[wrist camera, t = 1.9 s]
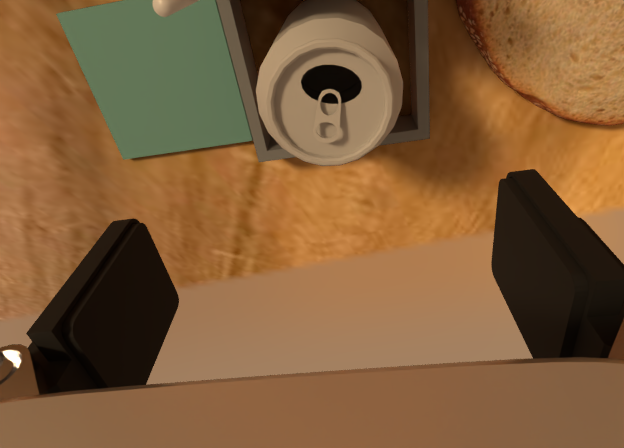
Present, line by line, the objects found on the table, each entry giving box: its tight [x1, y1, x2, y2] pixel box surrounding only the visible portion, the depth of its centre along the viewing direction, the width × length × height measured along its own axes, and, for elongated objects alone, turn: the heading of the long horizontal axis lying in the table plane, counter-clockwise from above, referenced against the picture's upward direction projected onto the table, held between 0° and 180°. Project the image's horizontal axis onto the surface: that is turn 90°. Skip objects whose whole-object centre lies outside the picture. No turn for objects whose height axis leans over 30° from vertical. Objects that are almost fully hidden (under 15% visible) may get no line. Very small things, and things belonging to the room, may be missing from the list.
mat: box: [57, 0, 253, 160], centre depth 31 cm, size 11×11×1 cm
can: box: [256, 0, 403, 166], centre depth 25 cm, size 8×8×12 cm
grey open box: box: [153, 0, 430, 162], centre depth 24 cm, size 13×14×13 cm
